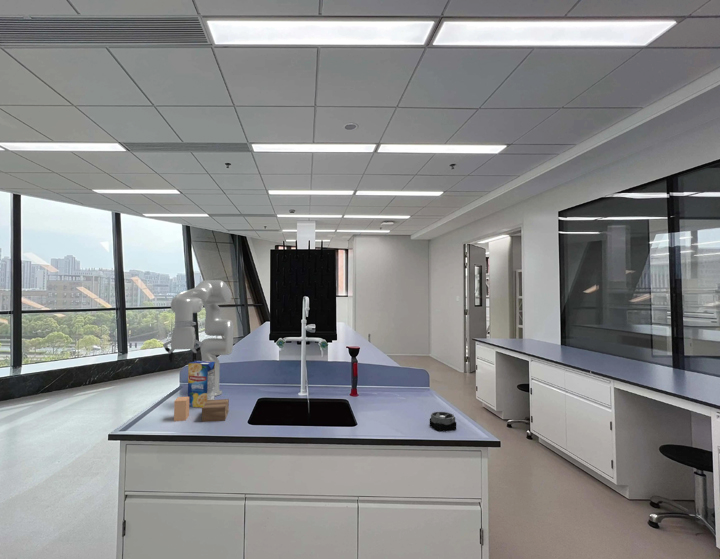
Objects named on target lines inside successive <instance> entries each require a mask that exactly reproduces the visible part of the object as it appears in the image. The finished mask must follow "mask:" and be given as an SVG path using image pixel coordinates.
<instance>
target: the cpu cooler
mask: <svg viewBox="0 0 720 559" xmlns="http://www.w3.org/2000/svg"><path fill="white" fill-rule="evenodd" d="M429 426H430V427H431V428H433V429H434V430H435V431H436V432H449V431H456V430H457V421H456V417H455V416H454V413H450V412H446V411H434V412H432V413H431V414H430V418H429Z"/></svg>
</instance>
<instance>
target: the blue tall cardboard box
mask: <svg viewBox="0 0 720 559" xmlns="http://www.w3.org/2000/svg"><path fill="white" fill-rule="evenodd" d="M187 368H188V369H187V370H188V372H187V373H188V374H187V397H189V408H201V409H202V408H203V406H204V405H205V403H206V401H207V400H215V397H216V396H215V362H211V361H202V360H195V362H193V361H192V362H188V367H187Z"/></svg>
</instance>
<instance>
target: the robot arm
mask: <svg viewBox="0 0 720 559" xmlns="http://www.w3.org/2000/svg"><path fill="white" fill-rule="evenodd" d="M232 296H233V295H232V291H231V290H230V288H229V286H228V284H227V283H226V282H225V281H223V280H220V279H205V280H204V279H203V280H202V281H200V282H199V283H198V284H197V285H196V286H195V287H193V288H191V289H187V290H185V291H181V292H179V293H177V294H176V295H175V296H174V297H173V298H172V300H171V302H170V309H171V311H172V312H173V313H174V327H173V328H172V331H171V339H170V340H169V341H167V342H164V343H163V344H162V346H163V348H164V350H165V351H166V352H167V353H168V361H169V363H173V362H174V357H175V356H174V355H175V354H174V351H175V350H191V351H192V362H195V361H197V358H198V352H199V351H200V353H201V361H211V362H215V397H217V396H219V395H222V394H223V391H222V389H220V367H221V366H220V363H221V362H220V360H219V359H218V357H217V356H229V355H230V354H232V352H233V347H234V333H235V331H234V330H235V326H234V322H233V321H232V320H231V319H227V318H226V319H223V318H222V310H221V308H220V306H219V305H218V304H229V303H230V302H231V301H232ZM203 308H204V310H205V317H204V318H205V319H204V334H205V335H207V336H209V337H210V338H205V339H202V341H199V340H198V339H196V338H197V337H196V331H195V330H196V329H195V327H193V326H196V325H197V322H195V321H193V319H194V317H193V314H198V313H199V312H202V310H203ZM212 336H213V337H212ZM221 337H222V338H221ZM223 337H224V338H223ZM196 344H197V345H198V347H197V348H196ZM168 345H170V347H168Z"/></svg>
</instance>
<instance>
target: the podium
mask: <svg viewBox="0 0 720 559" xmlns="http://www.w3.org/2000/svg"><path fill="white" fill-rule="evenodd" d="M229 402H230V399H229V398H224V399H214V400H207V401H206V403H205V405H204V406H203V408H201V422H202V423H205V422H206V423H207V422H210V423H211V422H222V421H223V422H224V421H226V419H227V416H228V414H229V411H230V410H229V409H230V407H229V404H230V403H229Z"/></svg>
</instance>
